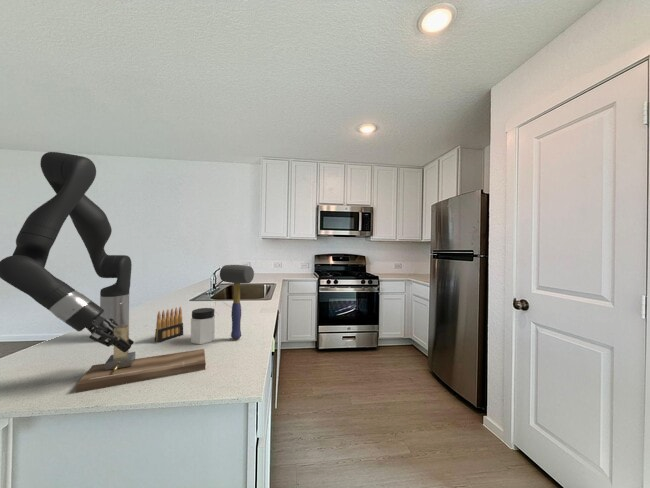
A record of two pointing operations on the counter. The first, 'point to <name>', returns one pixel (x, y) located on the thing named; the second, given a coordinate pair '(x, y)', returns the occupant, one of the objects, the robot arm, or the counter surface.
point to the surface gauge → (120, 357)
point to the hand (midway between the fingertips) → (129, 347)
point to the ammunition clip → (169, 325)
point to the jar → (202, 326)
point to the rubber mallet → (236, 291)
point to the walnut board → (143, 370)
